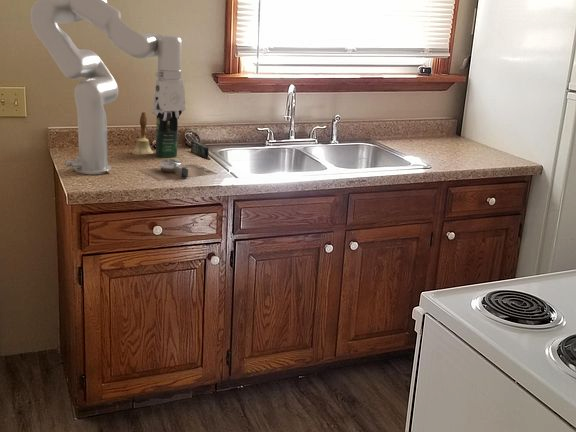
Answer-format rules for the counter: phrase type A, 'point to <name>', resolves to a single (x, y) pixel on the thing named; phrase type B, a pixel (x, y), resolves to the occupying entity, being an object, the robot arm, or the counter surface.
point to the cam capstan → (174, 167)
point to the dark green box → (200, 149)
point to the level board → (192, 172)
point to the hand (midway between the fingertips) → (168, 130)
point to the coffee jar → (166, 140)
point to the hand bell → (142, 139)
